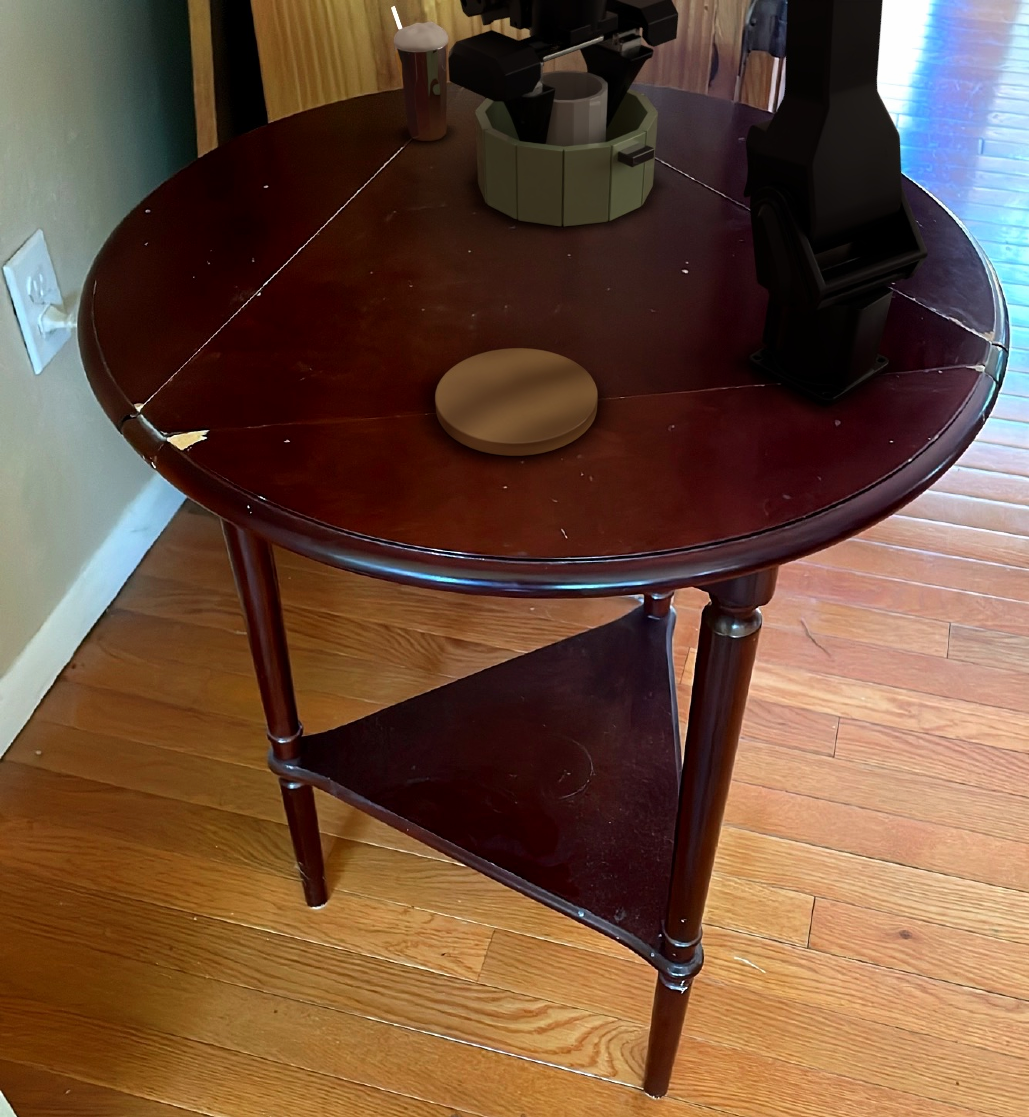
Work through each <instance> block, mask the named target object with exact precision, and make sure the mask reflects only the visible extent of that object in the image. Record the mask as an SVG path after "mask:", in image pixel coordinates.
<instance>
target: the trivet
mask: <svg viewBox="0 0 1029 1117" xmlns="http://www.w3.org/2000/svg"><path fill="white" fill-rule="evenodd" d="M434 394H435V395H434V403H435V413H436V417H437V420H438V422H439V424H440V425H441V427H442V429H443V430H444V432H445V433H447V434H448V436H450V437H451V438H453V440H455V441H457V442H458V443H459V444H461V445H463V446H466V447H468V448H470V449H473V450H476V451H478V452H482V453H486V454H491V455H497V456H507V457H522V456H524V457H525V456H533V455H539V454H544V453H548V452H551V451H555V450H558V449H560V448H563V447H565V446H567V445H569V444H571V443H573V442H574V441H576V440H577V439H579V438H580V437H581V436H582V435H584V434H585V433H587V431H588V430H589V428H590V427H591V425H593V423H594V421H595V418H596V416H597V412H598V400H599V399H598V397H599V394H598V388H597V385H596V382H595V381H594V379H593V377H592V376H591V374H590V373H589V372H588V371H587V370H586V369H585V368H584V367H583V366H581V365H580V364H578V363H577V362H575V361H574V360H572V359H570V358H569V357H566V356H563V355H561V354H558V353H555V352H551V351H547V350H542V349H535V348H526V347H524V348H523V347H515V348H513V347H512V348H511V347H510V348H500V349H495V350H494V349H493V350H490V351H486V352H485V351H484V352H482V353H481V352H480V353H477V354H475V355H473V356H470V357H467V358H466V359H464V360H462V361H460V362H458V363H457V364H455V365H454V366H452V367H451V368H450V369H449V370H448V371H446V372H445V374H444V375H443V376H442V377H441V379H440V380H439V382H438V384H437V386H436V389H435V393H434Z"/></svg>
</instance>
